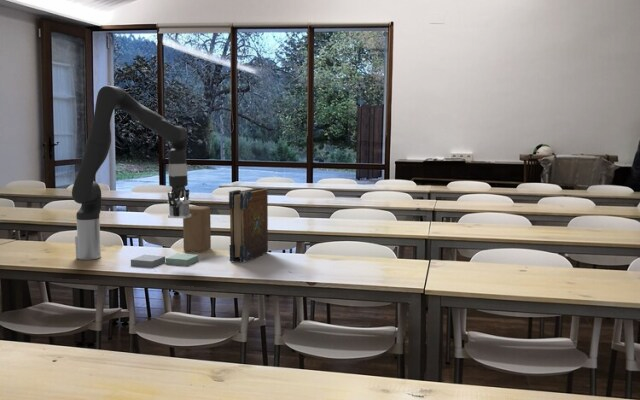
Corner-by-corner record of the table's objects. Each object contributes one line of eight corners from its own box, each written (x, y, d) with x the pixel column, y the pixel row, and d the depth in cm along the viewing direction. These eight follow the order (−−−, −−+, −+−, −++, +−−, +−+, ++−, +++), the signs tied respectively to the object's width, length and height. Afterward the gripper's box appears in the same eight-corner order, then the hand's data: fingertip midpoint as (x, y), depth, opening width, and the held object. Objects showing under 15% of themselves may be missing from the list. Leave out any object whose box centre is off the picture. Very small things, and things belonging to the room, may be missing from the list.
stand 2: (165, 264, 250) (165, 258, 249) (177, 259, 259) (177, 253, 259) (187, 265, 247) (187, 259, 247) (198, 260, 257) (198, 254, 256)
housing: (168, 217, 249) (167, 201, 248) (174, 216, 254) (173, 199, 253) (185, 218, 247) (184, 201, 246) (191, 216, 251) (190, 200, 251)
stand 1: (130, 265, 246) (130, 259, 246) (144, 260, 256) (144, 254, 256) (152, 267, 244) (152, 261, 243) (165, 262, 253) (165, 256, 253)
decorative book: (244, 263, 253) (243, 192, 249) (229, 261, 256) (228, 191, 252) (270, 252, 274) (270, 187, 271) (256, 251, 277) (256, 186, 274)
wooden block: (203, 252, 273) (202, 209, 270) (182, 251, 275) (182, 208, 272) (211, 248, 283) (211, 206, 280) (191, 247, 285) (191, 205, 282)
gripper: (178, 173, 256) (180, 212, 258) (160, 175, 242) (162, 217, 244) (194, 173, 254) (196, 213, 256) (177, 176, 240) (178, 218, 242)
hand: (179, 215), depth 250 cm, fingers closed on housing, 5 cm apart
